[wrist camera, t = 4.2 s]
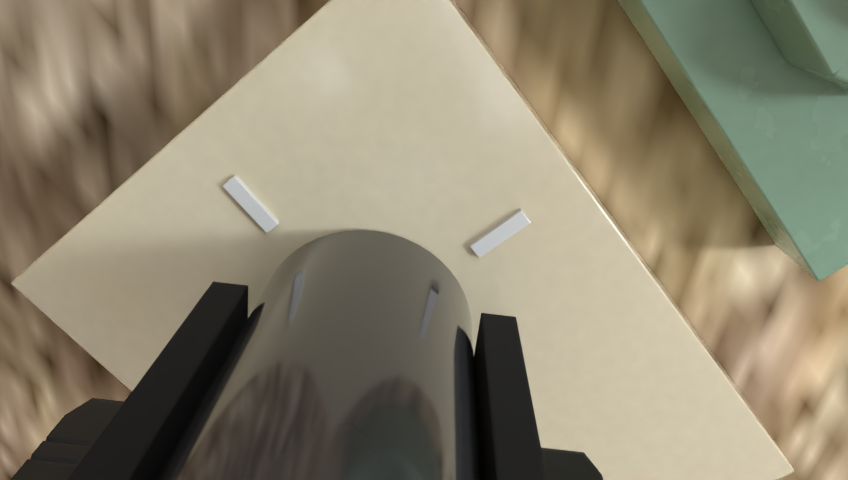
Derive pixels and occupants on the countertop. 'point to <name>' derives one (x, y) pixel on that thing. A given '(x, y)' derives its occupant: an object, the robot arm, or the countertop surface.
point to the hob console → (411, 234)
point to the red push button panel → (767, 107)
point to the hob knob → (344, 373)
